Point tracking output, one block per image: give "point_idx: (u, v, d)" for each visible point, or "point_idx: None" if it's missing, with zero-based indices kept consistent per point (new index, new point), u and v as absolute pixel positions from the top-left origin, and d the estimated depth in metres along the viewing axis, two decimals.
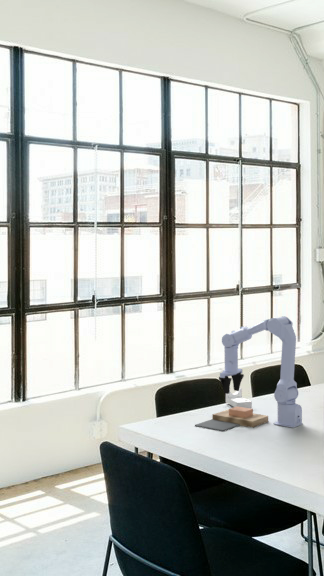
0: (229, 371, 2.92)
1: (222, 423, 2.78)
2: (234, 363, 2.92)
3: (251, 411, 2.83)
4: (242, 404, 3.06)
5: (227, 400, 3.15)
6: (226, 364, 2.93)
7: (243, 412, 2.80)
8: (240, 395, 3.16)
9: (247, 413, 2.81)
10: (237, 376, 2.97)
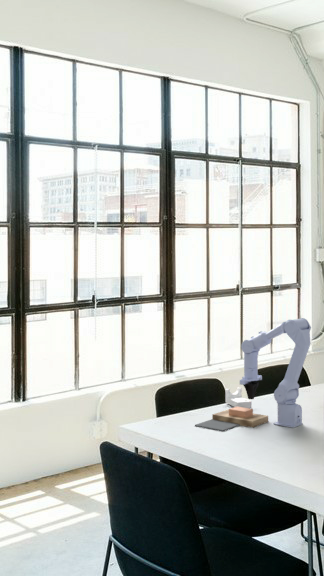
0: (249, 378, 2.87)
1: (222, 423, 2.78)
2: (254, 370, 2.87)
3: (251, 411, 2.83)
4: (242, 404, 3.06)
5: (227, 400, 3.15)
6: (246, 371, 2.88)
7: (243, 412, 2.80)
8: (240, 395, 3.17)
9: (247, 413, 2.81)
10: (252, 384, 2.90)
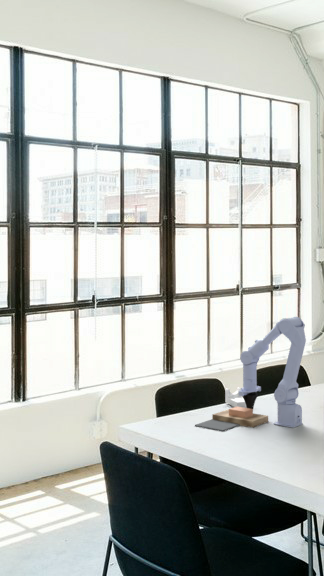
0: (248, 389, 2.87)
1: (222, 423, 2.78)
2: (253, 381, 2.87)
3: (251, 411, 2.83)
4: (242, 404, 3.06)
5: (227, 400, 3.16)
6: (245, 382, 2.88)
7: (243, 412, 2.80)
8: None
9: (247, 413, 2.81)
10: None
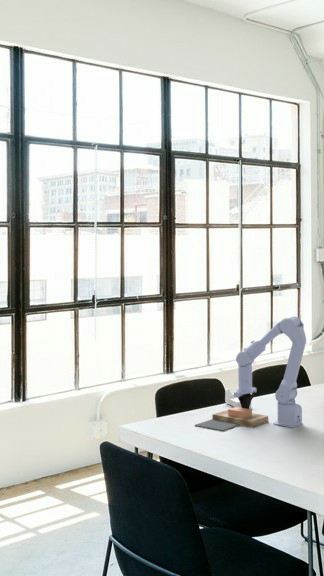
0: (243, 390, 2.84)
1: (222, 423, 2.78)
2: (248, 382, 2.84)
3: (250, 411, 2.83)
4: None
5: (227, 400, 3.16)
6: (240, 383, 2.85)
7: (242, 412, 2.79)
8: None
9: (246, 413, 2.81)
10: None
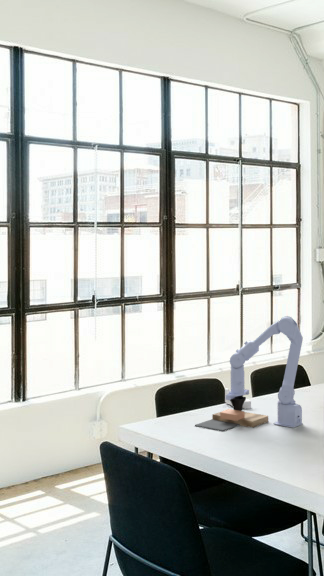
0: (235, 393, 2.80)
1: (222, 423, 2.78)
2: (240, 384, 2.79)
3: (243, 414, 2.78)
4: None
5: (226, 400, 3.16)
6: (232, 385, 2.80)
7: (234, 415, 2.75)
8: None
9: (239, 416, 2.76)
10: None
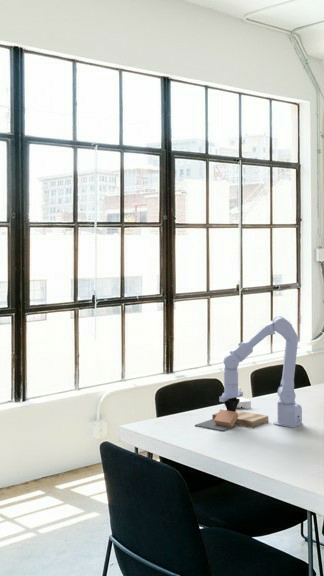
0: (229, 394, 2.76)
1: None
2: (234, 386, 2.76)
3: (236, 415, 2.74)
4: (241, 403, 3.07)
5: None
6: (226, 387, 2.77)
7: (228, 423, 2.72)
8: None
9: (233, 421, 2.73)
10: None
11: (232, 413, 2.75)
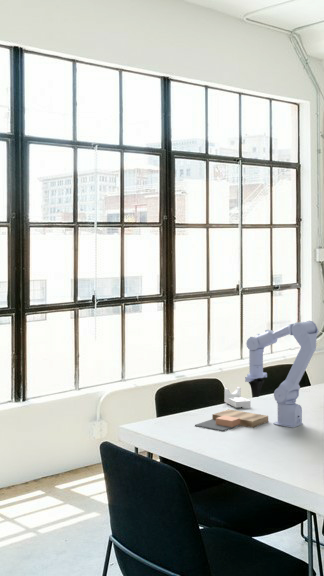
0: (254, 375, 2.85)
1: None
2: (259, 367, 2.85)
3: (238, 420, 2.76)
4: (241, 403, 3.07)
5: (226, 399, 3.17)
6: (251, 368, 2.86)
7: (230, 421, 2.72)
8: (239, 394, 3.18)
9: (234, 422, 2.74)
10: None
11: (235, 418, 2.77)
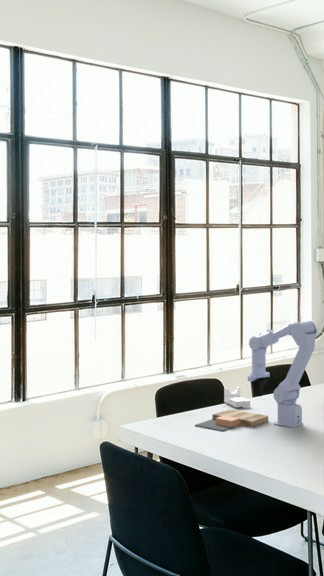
0: (257, 374, 2.86)
1: None
2: (262, 366, 2.86)
3: (238, 420, 2.76)
4: (241, 403, 3.07)
5: (226, 399, 3.17)
6: (254, 367, 2.87)
7: (230, 421, 2.72)
8: (239, 394, 3.18)
9: (234, 422, 2.74)
10: None
11: (235, 418, 2.77)
